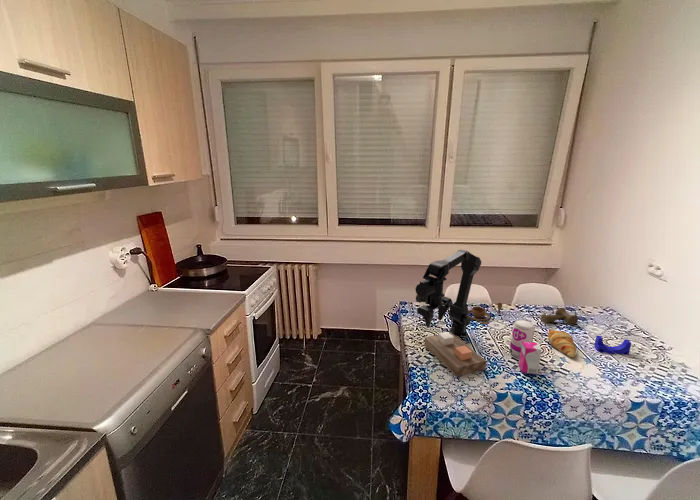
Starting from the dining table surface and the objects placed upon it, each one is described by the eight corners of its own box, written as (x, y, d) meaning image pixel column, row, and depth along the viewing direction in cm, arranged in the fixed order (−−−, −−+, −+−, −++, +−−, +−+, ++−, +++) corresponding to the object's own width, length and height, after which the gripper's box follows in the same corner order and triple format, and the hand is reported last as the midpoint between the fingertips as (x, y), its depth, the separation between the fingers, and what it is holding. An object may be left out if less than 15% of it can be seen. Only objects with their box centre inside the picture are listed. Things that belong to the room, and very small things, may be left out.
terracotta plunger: (463, 352, 140) (464, 345, 139) (471, 359, 136) (472, 351, 135) (454, 354, 139) (455, 347, 138) (461, 361, 134) (462, 353, 133)
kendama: (536, 319, 179) (569, 316, 182) (549, 328, 170) (583, 325, 173) (537, 309, 177) (571, 306, 180) (551, 318, 168) (585, 314, 171)
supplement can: (521, 361, 140) (527, 329, 136) (505, 351, 148) (509, 321, 143) (534, 356, 144) (539, 325, 140) (517, 347, 151) (522, 317, 147)
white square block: (446, 338, 151) (447, 331, 150) (453, 344, 147) (453, 337, 146) (437, 340, 150) (438, 333, 149) (444, 346, 145) (444, 338, 144)
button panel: (449, 339, 157) (450, 332, 156) (485, 369, 135) (486, 360, 134) (424, 345, 152) (424, 337, 151) (456, 376, 130) (457, 367, 129)
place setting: (463, 309, 190) (464, 300, 189) (500, 312, 187) (501, 302, 186) (469, 323, 173) (470, 313, 172) (510, 327, 171) (511, 316, 169)
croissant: (578, 367, 143) (590, 353, 141) (558, 356, 142) (571, 342, 140) (553, 340, 163) (564, 327, 161) (536, 330, 163) (547, 318, 160)
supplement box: (533, 366, 137) (537, 342, 134) (537, 375, 131) (542, 350, 128) (518, 364, 138) (522, 340, 135) (521, 373, 133) (526, 348, 130)
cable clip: (597, 352, 148) (600, 340, 147) (593, 346, 152) (596, 335, 151) (629, 357, 145) (633, 345, 143) (625, 351, 149) (628, 340, 147)
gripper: (432, 280, 155) (430, 310, 160) (407, 291, 143) (406, 324, 148) (454, 287, 147) (451, 319, 152) (429, 299, 135) (427, 333, 140)
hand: (433, 323), depth 148 cm, fingers open, 9 cm apart
